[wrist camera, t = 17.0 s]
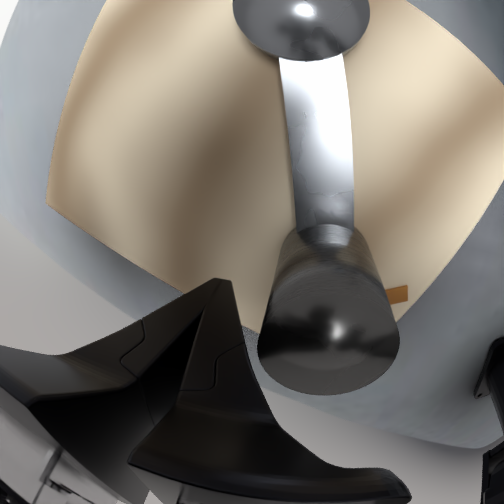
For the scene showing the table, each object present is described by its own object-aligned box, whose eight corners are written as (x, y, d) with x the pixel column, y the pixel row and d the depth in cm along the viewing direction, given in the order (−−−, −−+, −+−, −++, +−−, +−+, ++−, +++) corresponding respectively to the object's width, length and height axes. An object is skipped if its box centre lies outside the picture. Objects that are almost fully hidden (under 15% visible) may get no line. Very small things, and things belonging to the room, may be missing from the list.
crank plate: (513, 118, 7) (532, 121, 6) (341, 353, 15) (342, 374, 14) (167, -58, 6) (153, -70, 5) (62, 195, 14) (44, 203, 13)
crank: (233, -24, 6) (180, -93, 2) (351, -32, 5) (370, -108, 1) (273, 298, 12) (250, 392, 8) (374, 296, 11) (397, 391, 7)
